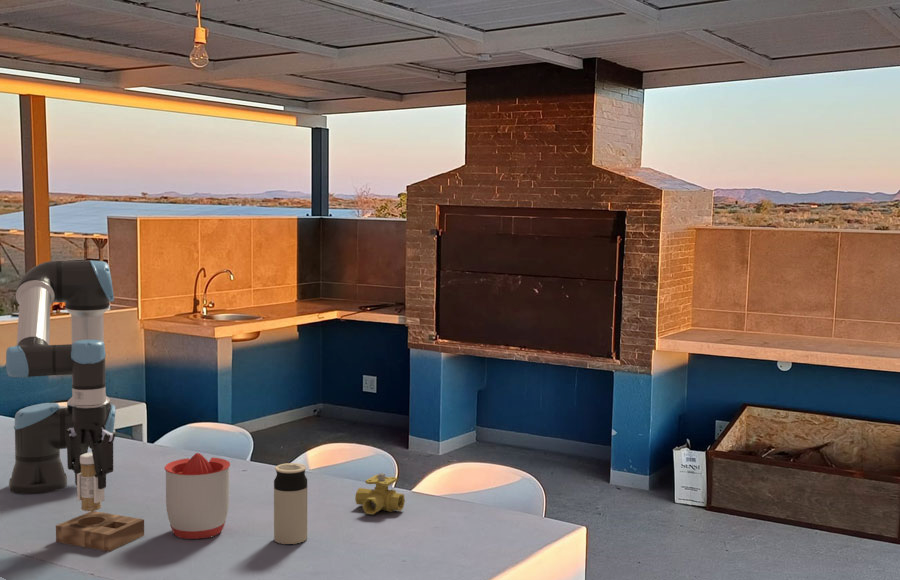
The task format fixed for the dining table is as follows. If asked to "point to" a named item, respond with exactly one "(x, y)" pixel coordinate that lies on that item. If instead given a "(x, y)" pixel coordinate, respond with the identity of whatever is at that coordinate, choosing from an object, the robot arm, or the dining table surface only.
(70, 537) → the socket block
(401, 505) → the ball valve
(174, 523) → the citrus juicer
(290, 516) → the travel mug
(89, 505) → the sprinkles bottle
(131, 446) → the dining table surface
